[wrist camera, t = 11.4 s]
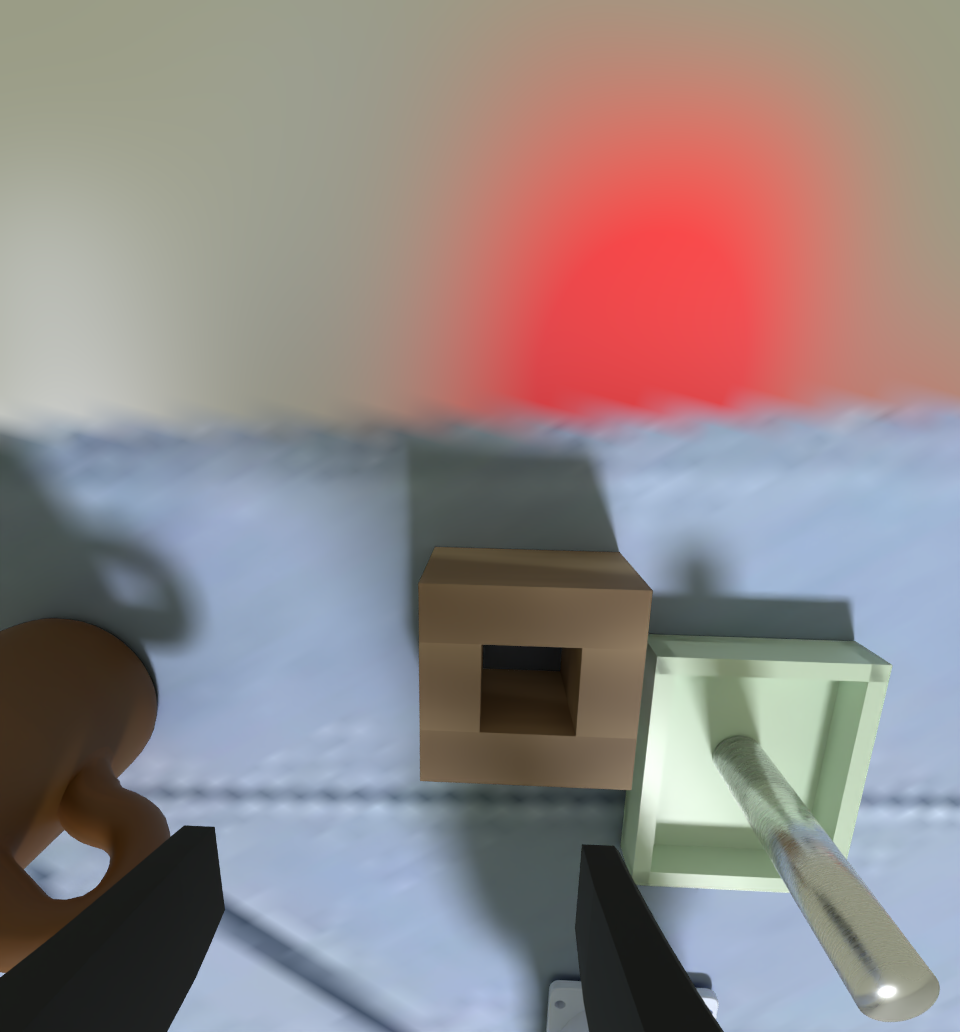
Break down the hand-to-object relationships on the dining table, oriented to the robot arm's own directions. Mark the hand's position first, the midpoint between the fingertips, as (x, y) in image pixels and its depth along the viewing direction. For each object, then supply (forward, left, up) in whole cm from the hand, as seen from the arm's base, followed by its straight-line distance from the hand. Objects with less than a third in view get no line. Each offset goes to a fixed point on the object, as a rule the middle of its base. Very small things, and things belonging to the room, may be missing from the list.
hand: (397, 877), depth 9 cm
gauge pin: (-5, -12, -10) cm, 16 cm away
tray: (-5, -12, -10) cm, 17 cm away
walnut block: (0, -3, -10) cm, 11 cm away
